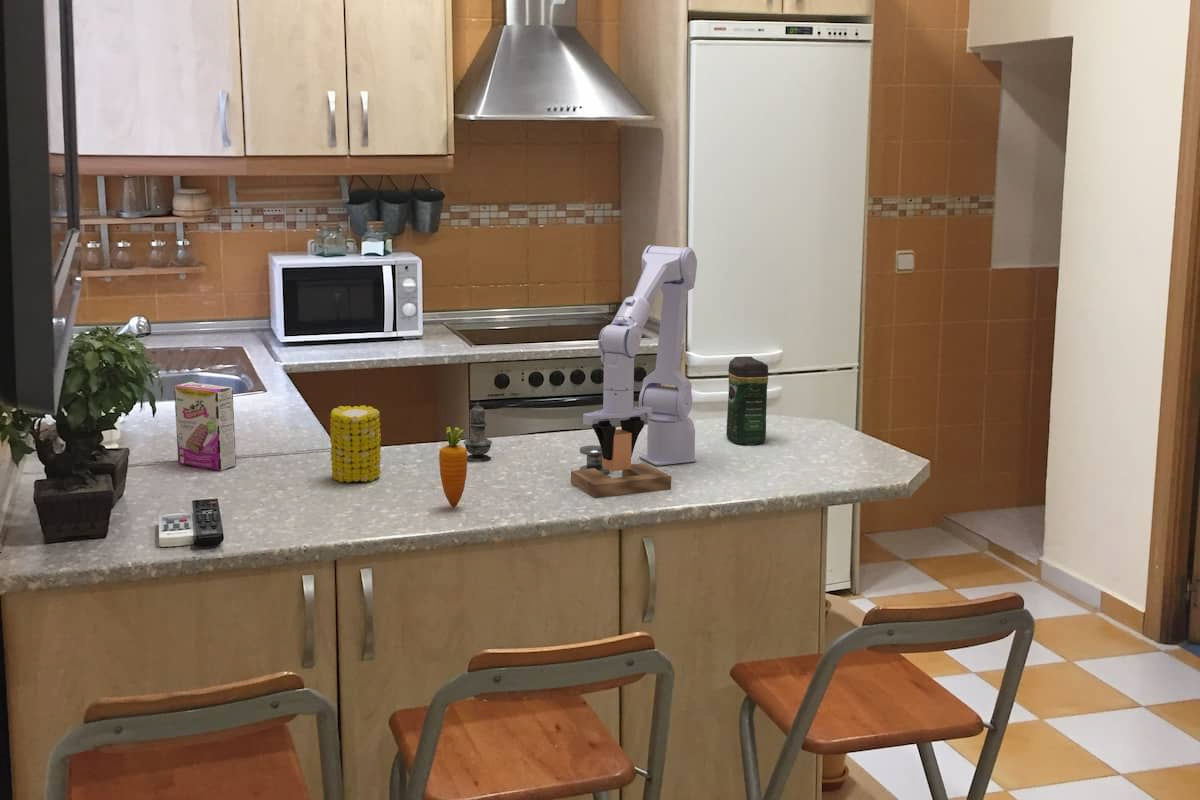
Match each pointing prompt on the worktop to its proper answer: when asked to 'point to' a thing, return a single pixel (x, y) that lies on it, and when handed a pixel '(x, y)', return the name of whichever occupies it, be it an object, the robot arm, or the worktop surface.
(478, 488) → the worktop surface
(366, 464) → the food
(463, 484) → the carrot
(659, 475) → the notched board
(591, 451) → the doorknob
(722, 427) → the worktop surface
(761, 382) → the coffee jar
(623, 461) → the brown block
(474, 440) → the salt shaker
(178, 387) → the candy bar box
